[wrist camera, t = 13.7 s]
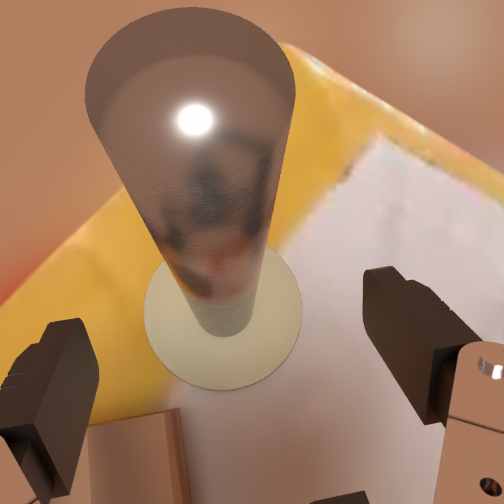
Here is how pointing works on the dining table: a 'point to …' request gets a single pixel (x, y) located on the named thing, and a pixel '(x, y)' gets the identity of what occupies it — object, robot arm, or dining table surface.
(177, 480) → the brown square frame
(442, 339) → the robot arm
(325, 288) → the dining table surface
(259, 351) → the mat
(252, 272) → the metallic grey cylinder
